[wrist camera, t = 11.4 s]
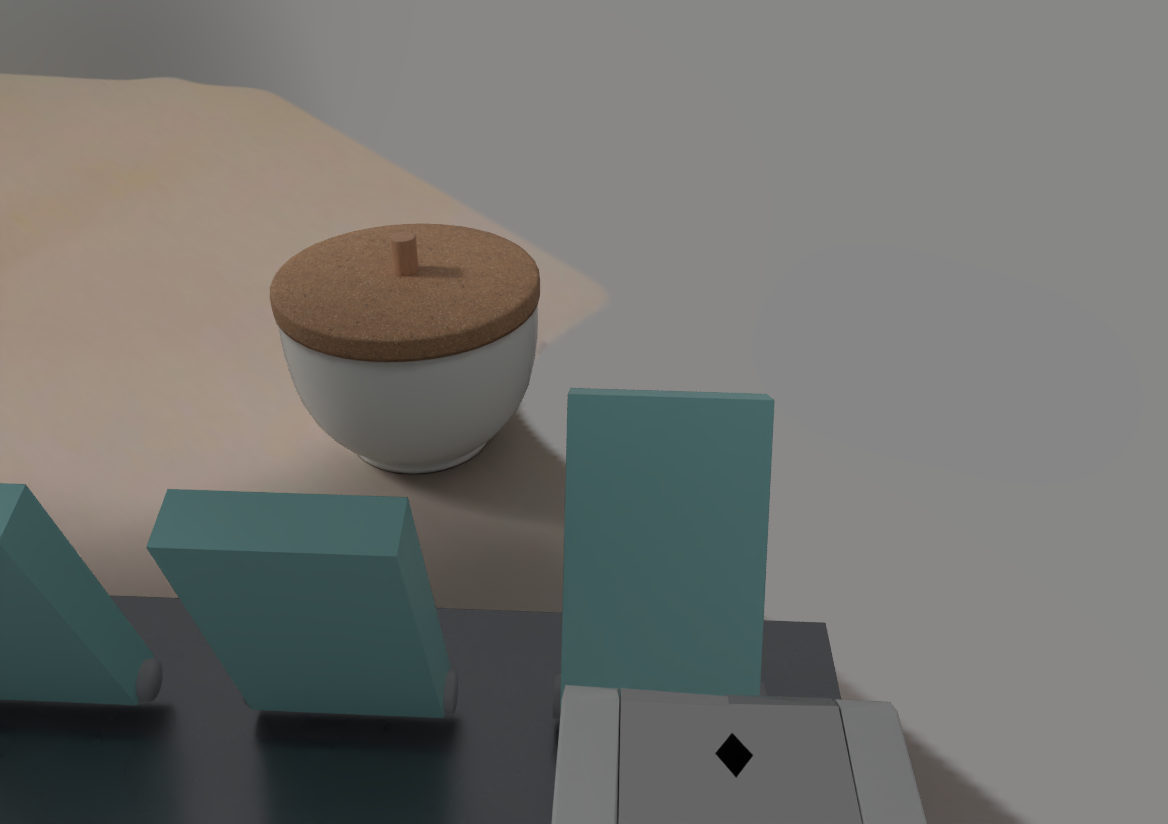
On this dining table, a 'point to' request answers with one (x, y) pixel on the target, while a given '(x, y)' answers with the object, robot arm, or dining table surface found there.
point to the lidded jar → (410, 339)
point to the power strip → (324, 736)
